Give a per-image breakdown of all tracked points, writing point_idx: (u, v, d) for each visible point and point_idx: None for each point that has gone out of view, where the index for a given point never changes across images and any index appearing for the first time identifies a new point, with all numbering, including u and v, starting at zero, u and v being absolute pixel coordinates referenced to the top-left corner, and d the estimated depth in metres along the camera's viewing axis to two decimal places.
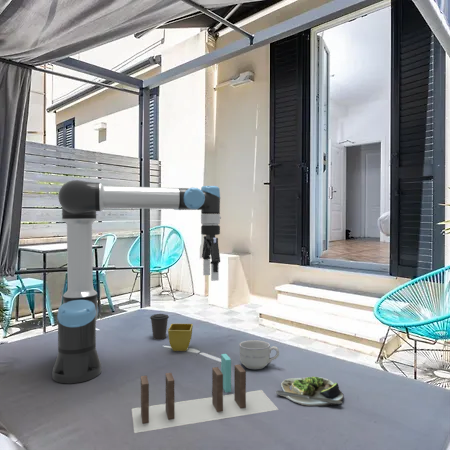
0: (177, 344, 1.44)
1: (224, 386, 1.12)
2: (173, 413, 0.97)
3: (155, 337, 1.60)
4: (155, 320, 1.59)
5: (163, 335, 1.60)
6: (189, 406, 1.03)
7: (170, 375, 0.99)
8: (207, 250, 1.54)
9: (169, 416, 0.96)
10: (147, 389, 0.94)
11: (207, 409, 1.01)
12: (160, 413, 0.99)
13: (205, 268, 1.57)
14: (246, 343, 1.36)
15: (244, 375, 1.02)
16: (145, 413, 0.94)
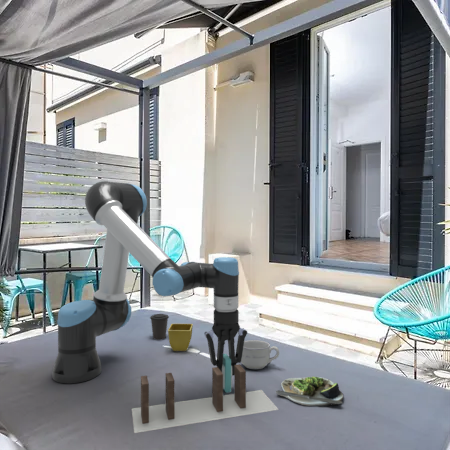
0: (177, 344, 1.44)
1: None
2: (173, 413, 0.97)
3: (155, 337, 1.60)
4: (155, 320, 1.59)
5: (163, 335, 1.60)
6: (189, 406, 1.03)
7: (170, 375, 0.99)
8: (229, 346, 1.14)
9: (169, 416, 0.96)
10: (147, 389, 0.94)
11: (207, 409, 1.01)
12: (160, 413, 0.99)
13: None
14: (246, 343, 1.36)
15: (244, 375, 1.02)
16: (145, 413, 0.94)
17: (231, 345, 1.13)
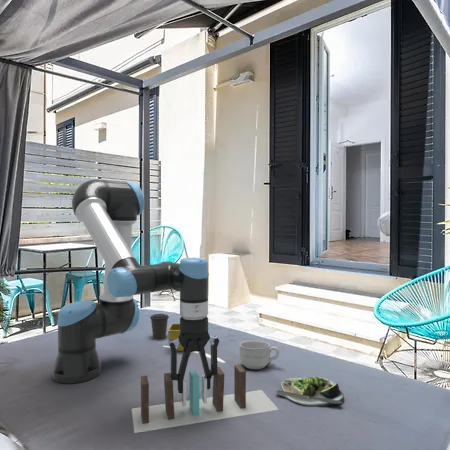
0: None
1: (192, 407, 0.99)
2: (173, 413, 0.97)
3: (155, 337, 1.60)
4: (155, 320, 1.59)
5: (163, 335, 1.60)
6: (189, 406, 1.03)
7: (168, 375, 0.99)
8: (200, 357, 1.01)
9: (169, 416, 0.96)
10: (147, 389, 0.94)
11: (207, 409, 1.01)
12: (160, 413, 0.99)
13: (202, 389, 1.02)
14: (246, 343, 1.36)
15: (244, 375, 1.02)
16: (145, 413, 0.94)
17: (202, 356, 1.00)
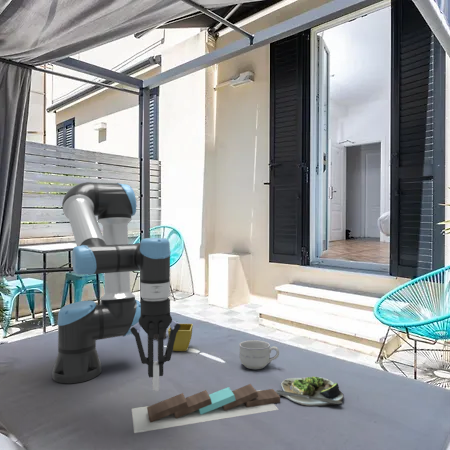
0: (177, 344, 1.44)
1: None
2: (180, 415, 0.97)
3: (155, 337, 1.60)
4: None
5: None
6: None
7: None
8: (158, 341, 0.98)
9: (177, 412, 0.97)
10: (182, 408, 0.97)
11: None
12: None
13: None
14: (246, 343, 1.36)
15: (276, 401, 1.05)
16: (159, 416, 0.95)
17: (160, 340, 0.96)
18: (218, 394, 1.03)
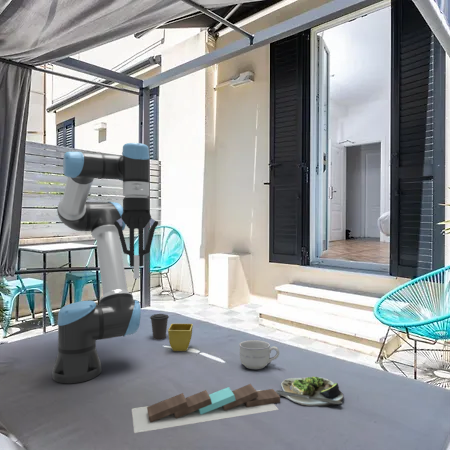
0: (177, 344, 1.44)
1: None
2: (180, 415, 0.97)
3: (155, 337, 1.60)
4: (155, 320, 1.59)
5: (163, 335, 1.60)
6: None
7: None
8: (138, 236, 1.10)
9: (177, 412, 0.97)
10: (182, 408, 0.97)
11: None
12: None
13: None
14: (246, 343, 1.36)
15: (276, 401, 1.05)
16: (159, 416, 0.95)
17: (140, 234, 1.09)
18: (218, 394, 1.03)
